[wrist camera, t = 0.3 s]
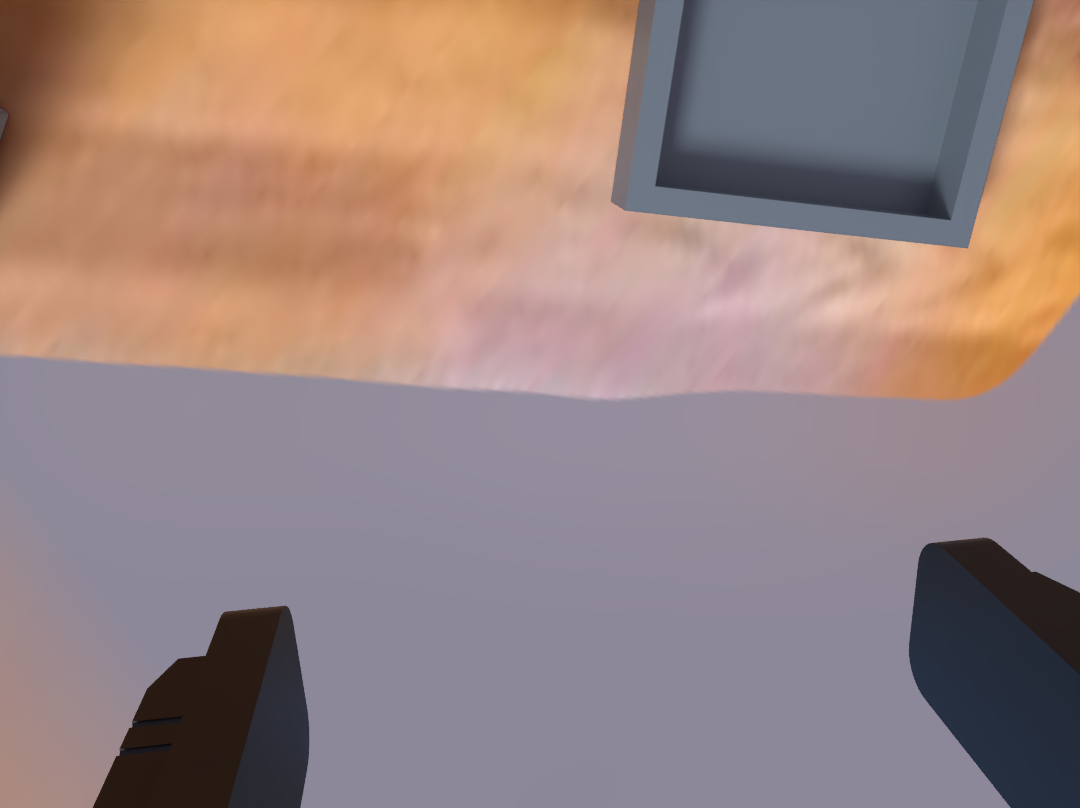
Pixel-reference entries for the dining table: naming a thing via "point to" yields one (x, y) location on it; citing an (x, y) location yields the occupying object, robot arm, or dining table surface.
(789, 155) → the slate tray
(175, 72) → the dining table surface
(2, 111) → the skincare box
